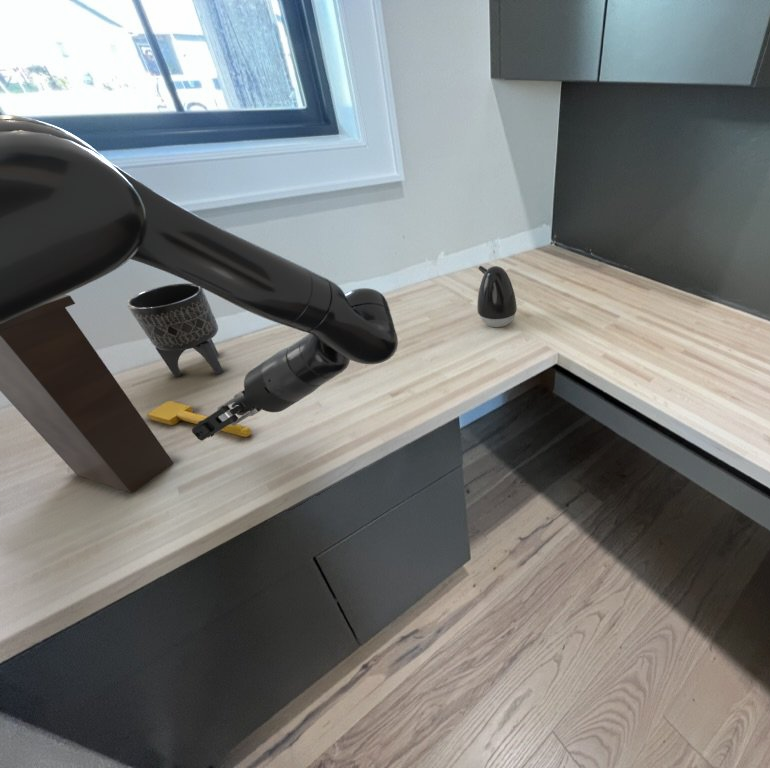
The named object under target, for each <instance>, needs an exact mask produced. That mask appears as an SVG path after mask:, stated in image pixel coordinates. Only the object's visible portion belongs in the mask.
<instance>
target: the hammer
mask: <svg viewBox="0 0 770 768" xmlns="http://www.w3.org/2000/svg"><path fill="white" fill-rule="evenodd" d="M146 415H147V417H148V418H149V419H150V420H151V421H154V422H157V423H162V424H166V425H169V426H174V425H176V424H178V423H179V422H181V421H183V422H188V423H191V424H195V425H196V424H198V422H199V421H201V420H202V421H203V420H204V419H205V418H207V417H208V416H206V415H202V414H199V413H195V411H194V409H193V407H192V406H191V405H188V404H184V403H180V402H175V401H171V400H167V401H166V402H164V403H162V404H161V405H159V406H157V407H156V408H154V409H152V410H151V411H149V412H148V413H147V414H146ZM220 432H223V433H224V432H225V433H228V434H232V435H236V436H238V437H239V436H240V437H244V438H247V437H249V436H250V435H251V434H252V429H251V428H250V427H249V426H245V425H241V424H239V423H237V424H235V425H233V426H231V425H228V426H226V427H224V428H223V429H221V431H220Z"/></svg>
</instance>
